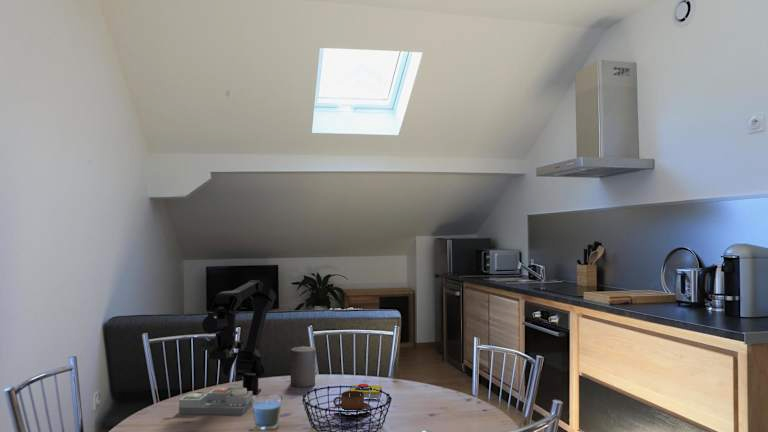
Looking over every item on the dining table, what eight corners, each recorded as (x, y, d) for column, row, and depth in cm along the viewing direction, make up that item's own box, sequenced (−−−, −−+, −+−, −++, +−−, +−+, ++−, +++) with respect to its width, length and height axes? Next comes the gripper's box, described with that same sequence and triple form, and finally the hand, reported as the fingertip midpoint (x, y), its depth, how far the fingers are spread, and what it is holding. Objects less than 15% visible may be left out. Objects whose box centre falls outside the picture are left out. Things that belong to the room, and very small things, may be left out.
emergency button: (348, 381, 205) (388, 382, 203) (348, 392, 205) (388, 394, 203) (342, 387, 196) (384, 389, 194) (342, 400, 196) (384, 401, 194)
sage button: (189, 400, 185) (189, 393, 185) (203, 401, 185) (203, 393, 185) (183, 405, 180) (183, 397, 180) (198, 405, 180) (198, 397, 180)
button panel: (196, 400, 194) (197, 387, 194) (255, 401, 193) (256, 388, 193) (178, 413, 179) (179, 399, 179) (242, 414, 178) (242, 400, 178)
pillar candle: (285, 384, 215) (285, 345, 216) (304, 379, 223) (304, 342, 224) (301, 388, 209) (302, 348, 210) (320, 383, 217) (320, 345, 217)
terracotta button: (217, 394, 193) (217, 387, 193) (230, 394, 193) (230, 387, 193) (212, 398, 188) (212, 390, 188) (226, 398, 188) (226, 391, 188)
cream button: (234, 394, 189) (234, 387, 189) (248, 394, 188) (248, 387, 188) (230, 398, 184) (230, 391, 184) (244, 399, 183) (244, 391, 184)
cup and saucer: (341, 421, 172) (341, 401, 173) (329, 410, 183) (329, 391, 184) (376, 416, 177) (376, 396, 178) (362, 405, 188) (362, 387, 188)
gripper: (214, 324, 200) (214, 368, 199) (192, 333, 181) (192, 381, 181) (244, 325, 199) (244, 368, 198) (225, 333, 180) (225, 382, 180)
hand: (226, 375), depth 189 cm, fingers closed
